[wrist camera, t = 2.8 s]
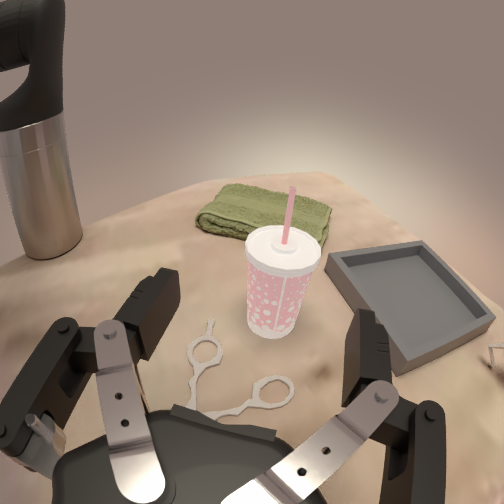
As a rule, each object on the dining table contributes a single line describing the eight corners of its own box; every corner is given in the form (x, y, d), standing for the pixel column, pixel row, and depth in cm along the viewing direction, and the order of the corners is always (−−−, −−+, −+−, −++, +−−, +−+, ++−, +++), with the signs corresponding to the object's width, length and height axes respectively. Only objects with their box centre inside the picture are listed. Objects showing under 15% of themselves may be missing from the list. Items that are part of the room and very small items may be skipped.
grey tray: (324, 269, 38) (328, 253, 36) (416, 254, 42) (422, 240, 41) (396, 376, 26) (407, 361, 24) (486, 331, 30) (496, 317, 29)
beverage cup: (298, 300, 33) (326, 176, 25) (304, 346, 29) (343, 212, 20) (240, 296, 33) (250, 168, 25) (237, 343, 28) (249, 204, 20)
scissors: (308, 372, 26) (153, 558, 12) (306, 377, 26) (155, 558, 12) (210, 317, 30) (49, 457, 16) (210, 323, 31) (54, 460, 17)
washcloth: (321, 264, 40) (327, 243, 38) (191, 233, 43) (190, 212, 41) (330, 216, 50) (334, 198, 48) (225, 193, 53) (226, 176, 51)
